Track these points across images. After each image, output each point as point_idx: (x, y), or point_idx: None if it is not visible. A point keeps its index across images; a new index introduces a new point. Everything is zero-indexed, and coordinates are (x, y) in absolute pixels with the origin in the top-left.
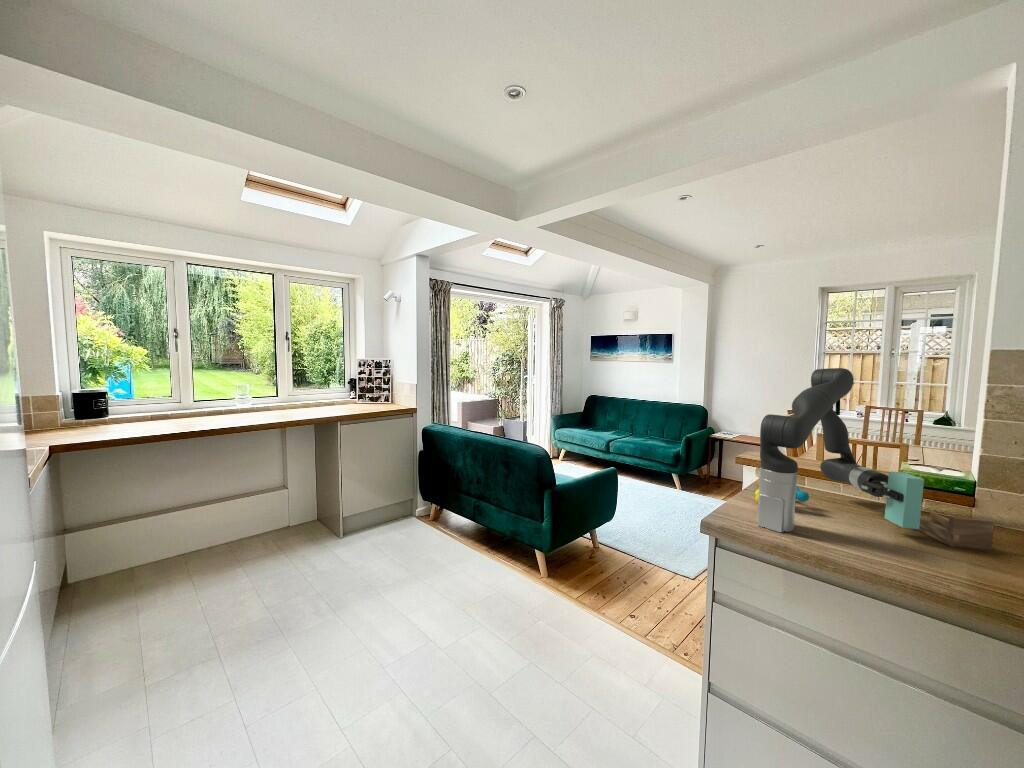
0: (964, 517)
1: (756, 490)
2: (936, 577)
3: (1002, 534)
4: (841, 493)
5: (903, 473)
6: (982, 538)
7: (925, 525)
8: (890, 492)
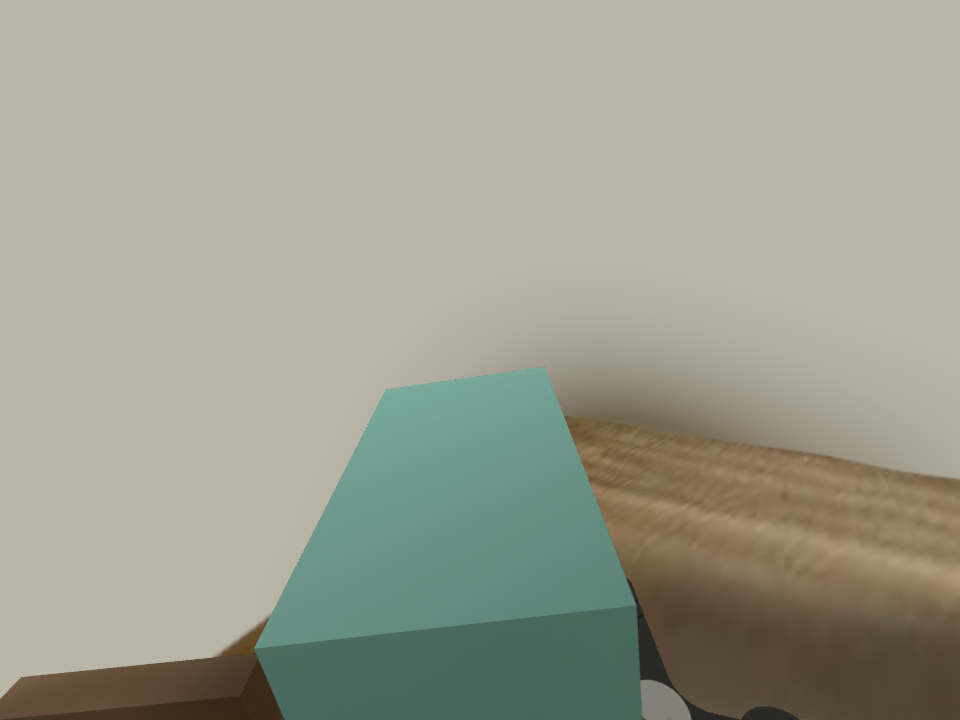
0: (144, 701)
1: None
2: (612, 477)
3: None
4: None
5: (398, 536)
6: None
7: None
8: (657, 657)
